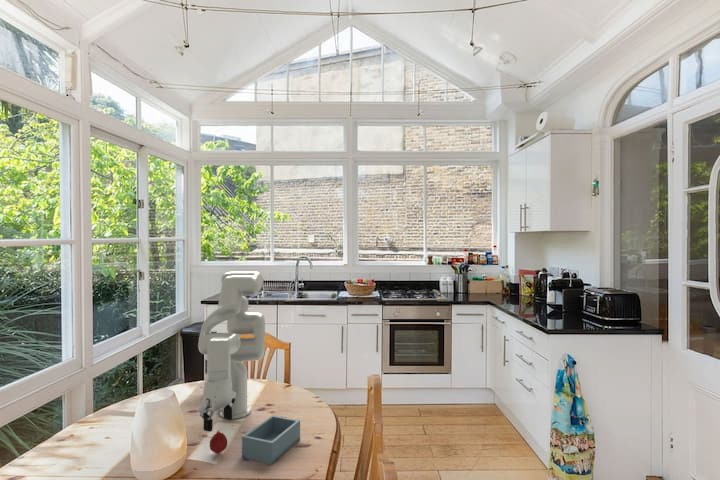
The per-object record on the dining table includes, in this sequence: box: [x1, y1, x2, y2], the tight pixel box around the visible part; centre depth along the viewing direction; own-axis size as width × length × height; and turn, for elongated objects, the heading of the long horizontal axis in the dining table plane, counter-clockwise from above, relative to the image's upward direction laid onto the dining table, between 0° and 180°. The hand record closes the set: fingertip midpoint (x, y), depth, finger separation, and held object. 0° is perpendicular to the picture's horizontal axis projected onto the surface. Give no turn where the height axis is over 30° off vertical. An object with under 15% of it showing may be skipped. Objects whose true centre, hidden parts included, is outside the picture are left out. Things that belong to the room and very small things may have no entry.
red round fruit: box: [208, 429, 229, 455], centre depth 137 cm, size 6×6×8 cm
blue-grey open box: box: [241, 414, 301, 465], centre depth 140 cm, size 12×18×7 cm, turn 159°
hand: (218, 424), depth 136 cm, fingers open, 9 cm apart
